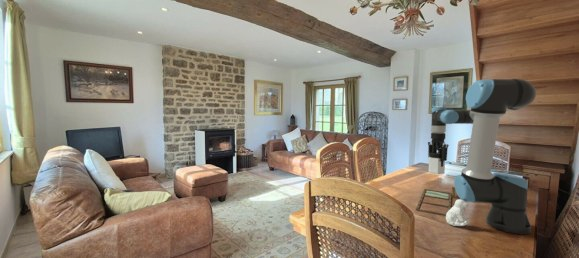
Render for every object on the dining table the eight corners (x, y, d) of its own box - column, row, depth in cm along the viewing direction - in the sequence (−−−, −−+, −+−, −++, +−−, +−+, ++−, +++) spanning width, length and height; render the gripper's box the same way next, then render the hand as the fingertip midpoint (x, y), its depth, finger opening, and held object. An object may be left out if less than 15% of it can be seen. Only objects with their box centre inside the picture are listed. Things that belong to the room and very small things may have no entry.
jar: (446, 172, 153) (447, 153, 152) (441, 174, 148) (442, 154, 147) (431, 170, 160) (431, 151, 159) (425, 172, 154) (426, 152, 154)
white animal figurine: (448, 220, 118) (448, 195, 117) (470, 226, 112) (471, 199, 111) (444, 224, 113) (444, 198, 113) (466, 230, 107) (467, 203, 107)
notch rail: (454, 217, 121) (455, 205, 121) (415, 210, 130) (416, 198, 130) (455, 194, 157) (455, 184, 157) (424, 190, 166) (424, 181, 166)
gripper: (455, 133, 144) (453, 174, 146) (432, 131, 161) (431, 167, 163) (444, 134, 143) (442, 174, 144) (422, 131, 159) (421, 168, 161)
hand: (436, 170), depth 153 cm, fingers closed on jar, 4 cm apart
